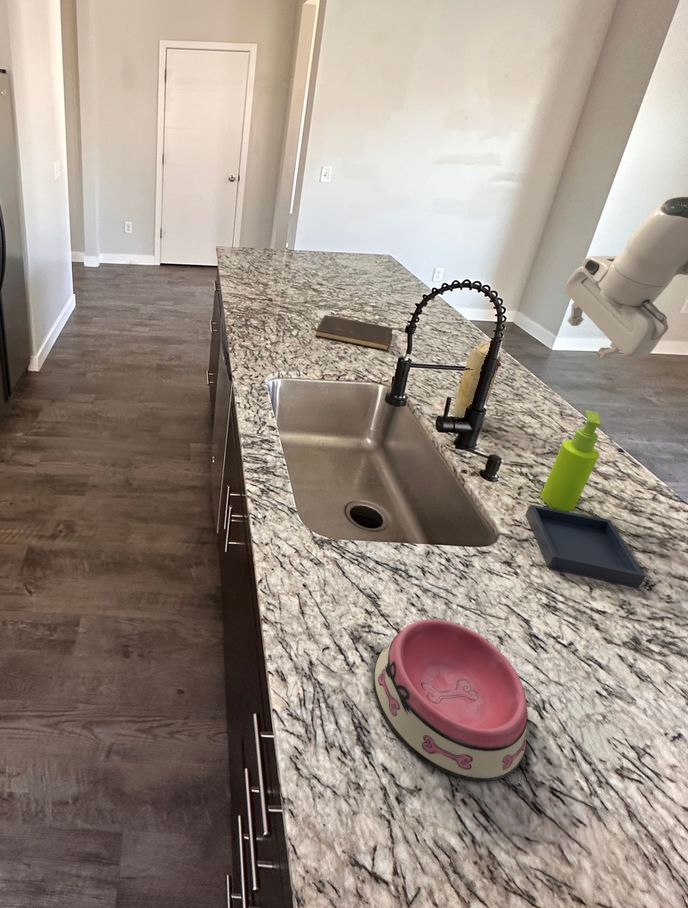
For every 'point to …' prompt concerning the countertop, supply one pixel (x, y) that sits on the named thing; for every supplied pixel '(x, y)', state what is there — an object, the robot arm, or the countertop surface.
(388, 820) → the countertop surface
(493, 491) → the countertop surface
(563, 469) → the soap dispenser
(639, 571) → the drip tray
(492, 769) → the dog bowl
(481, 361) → the food model
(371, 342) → the hardcover book
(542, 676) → the countertop surface
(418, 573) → the countertop surface
